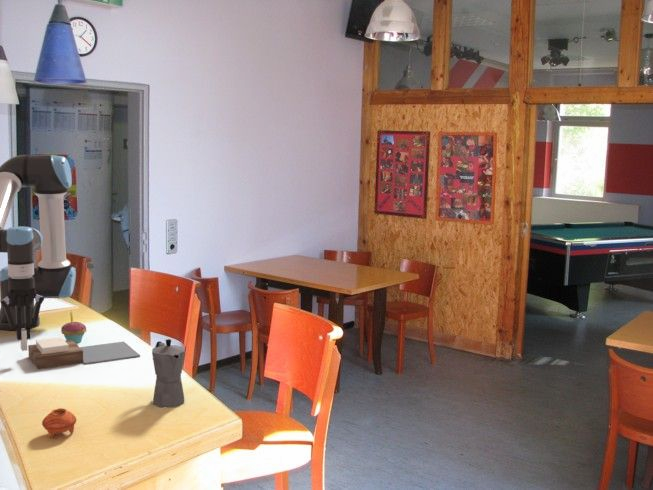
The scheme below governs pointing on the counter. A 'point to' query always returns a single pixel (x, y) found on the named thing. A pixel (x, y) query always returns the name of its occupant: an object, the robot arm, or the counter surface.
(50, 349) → the cream rectangular block
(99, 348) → the mat
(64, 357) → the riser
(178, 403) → the coffeepot
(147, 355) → the counter surface
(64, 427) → the pot
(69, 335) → the cupcake
